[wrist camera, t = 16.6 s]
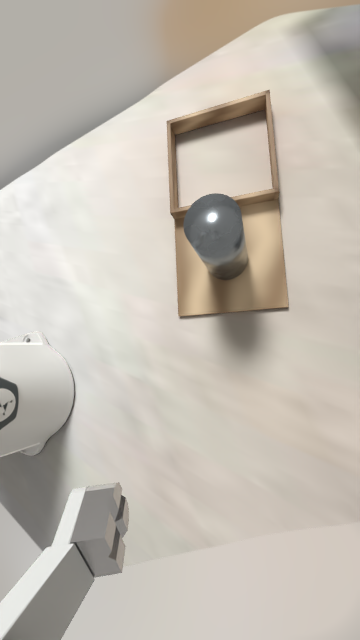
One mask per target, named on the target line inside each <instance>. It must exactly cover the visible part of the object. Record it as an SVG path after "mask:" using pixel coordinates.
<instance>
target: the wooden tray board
mask: <svg viewBox="0 0 360 640" xmlns="http://www.w3.org/2000/svg"><path fill="white" fill-rule="evenodd" d="M264 109H266V120H267V131H268V142H269V153H270V164H271V174H272V185H273V189H269V190H264V191H259V192H254V193H249V194H244V195H239V196H235V197H230V198H232V199H233V200H234V201H235V202H236V203H237V204H238V206H239V208H240V210H241V214H242V221H243V227H244V234H245V240H246V247H247V253H248V263H247V266H246V268H245V270H244V271H243V272H242V273H241V274H240V275H239V276H237V277H236V278H233V279H230V280H221V279H218V278H216V277H214V276H213V275H212V274H211V273H210V272H209V271H208V269H207V268H206V266H205V265H204V263H203V262H202V260H201V259H200V257H199V256H198V254H197V253H196V251H195V250H194V248H193V247H192V245H191V244H190V242H189V241H188V239H187V238H186V236H185V233H184V227H183V224H184V218H185V215H186V213H187V211H188V209H189V208H190V206H186V207H181V208H178V194H177V171H176V148H175V135H177V134H180V133H184V132H187V131H191V130H194V129H198V128H201V127H205V126H208V125H212V124H215V123H219V122H222V121H226V120H229V119H233V118H236V117H240V116H243V115H247V114H250V113H254V112H257V111H261V110H264ZM167 141H168V166H169V191H170V213H171V215H172V216H173V218H174V220H175V243H176V267H177V291H178V315H179V316H191V315H203V314H215V313H227V312H238V311H250V310H262V309H274V308H286V307H288V297H287V286H286V276H285V265H284V255H283V244H282V233H281V223H280V212H279V202H278V197H279V185H278V174H277V164H276V153H275V143H274V132H273V122H272V112H271V101H270V91H269V90H267V91H264V92H261V93H257V94H254V95H251V96H247V97H244V98H241V99H238V100H234V101H231V102H228V103H224V104H221V105H218V106H215V107H211V108H208V109H205V110H201V111H198V112H195V113H192V114H188V115H185V116H182V117H179V118H175V119H172V120H169V121H167Z"/></svg>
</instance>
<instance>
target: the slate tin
mask: <svg viewBox="0 0 360 640" xmlns="http://www.w3.org/2000/svg"><path fill="white" fill-rule="evenodd" d="M183 227H184V233H185V236H186V238H187V239H188V241H189V242H190V244H191V245H192V247H193V248H194V250H195V251H196V253H197V254H198V256H199V257H200V259H201V260H202V262H203V263H204V265H205V266H206V268H207V269H208V271H209V272H210V273H211V274H212V275H213V276H214V277H216V278H218V279H221V280H230V279H233V278H236V277H237V276H239V275H240V274H241V273H242V272H243V271H244V270H245V268H246V266H247V263H248V253H247V247H246V240H245V234H244V227H243V221H242V214H241V210H240V208H239V206H238V204H237V203H236V202H235V201H234V200H233V199H232V198H230V197H229V196H226V195H223V194H209V195H206V196H203V197H201V198H200V199H198V200H197V201H195V202H194V203H193V204H192V205H191V206H190V208H189V209H188V211H187V213H186V215H185V218H184V224H183Z"/></svg>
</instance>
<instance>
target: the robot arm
mask: <svg viewBox="0 0 360 640" xmlns="http://www.w3.org/2000/svg"><path fill="white" fill-rule="evenodd" d="M30 340H31V341H30ZM73 399H74V383H73V377H72V374H71V371H70V368H69V366H68V364H67V362H66V361H65V360H64V358H63V357H62V356H61V355H60V354H59V353H58V352H57V351H55V350H54V349H53V348H52V347H51V346H50V345H49V344H48V342H47V340H46V338H45V336H44V335H43V334H42V333H41V332H31V333H28V334H25V335H21V336H18V337H15V338H12V339H9V340H6V341H3V342H0V457H3V456H6V455H9V454H12V453H15V452H20V453H22V454H25V455H28V456H33V455H36V454H38V453H40V451H41V450H42V449H43V447H44V445H45V443H46V441H47V440H48V438H49V437H51V436H52V435H53V434H54V433H56V432H57V431H58V430H59V429H60V428H61V427H62V426H63V424H64V423H65V422H66V420H67V418H68V416H69V414H70V411H71V408H72V405H73ZM121 493H122V487H121V485H120V483H111V484H104V485H96V486H88V487H81V488H74V489H73V490H72V492H71V493H70V495H69V498H68V500H67V503H66V506H65V509H64V512H63V515H62V517H61V520H60V523H59V526H58V529H57V532H56V535H55V537H54V540H53V543H52V546H50V547H46V549H45V550H44V551H43V552H42V554H41V555H40V556H39V557H38V558H37V559H36V560H35V562H34V563H33V564H32V565H31V566H30V568H29V569H28V570H27V571H26V572H25V574H24V575H23V576H22V577H21V578H20V580H19V581H18V582H17V583H16V585H15V586H14V587H13V588H12V589H11V590H10V592H9V593H8V594H7V595H6V596H5V597H4V599H3V600H2V601H1V602H0V640H61V638H62V636H63V635H64V633H65V631H66V629H67V628H68V626H69V624H70V622H71V621H72V619H73V617H74V615H75V613H76V612H77V610H78V608H79V606H80V605H81V603H82V601H83V599H84V598H85V596H86V594H87V592H88V591H89V589H90V587H91V585H92V583H93V582H94V577H99V576H106V575H112V574H117V573H122V568H123V561H124V554H125V544H124V542H123V540H122V538H123V536H124V535H125V533H126V532H127V530H128V522H129V508H128V503H127V500H126V498H125V497H124V496H122V495H121Z"/></svg>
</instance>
